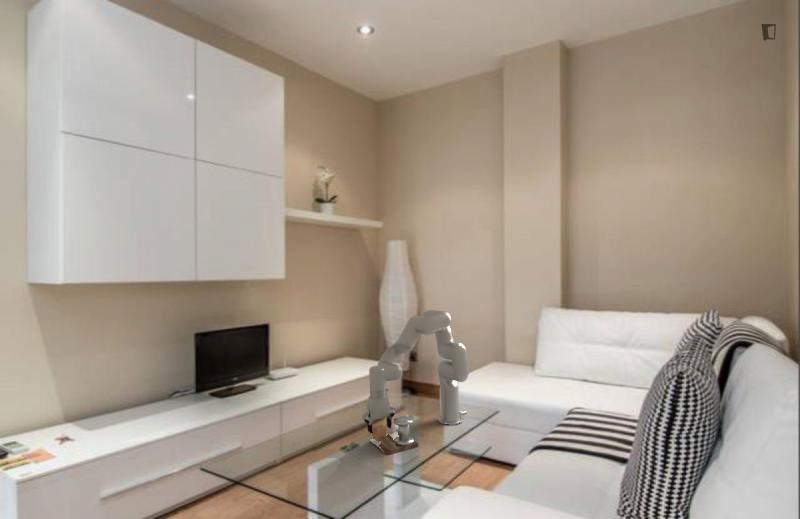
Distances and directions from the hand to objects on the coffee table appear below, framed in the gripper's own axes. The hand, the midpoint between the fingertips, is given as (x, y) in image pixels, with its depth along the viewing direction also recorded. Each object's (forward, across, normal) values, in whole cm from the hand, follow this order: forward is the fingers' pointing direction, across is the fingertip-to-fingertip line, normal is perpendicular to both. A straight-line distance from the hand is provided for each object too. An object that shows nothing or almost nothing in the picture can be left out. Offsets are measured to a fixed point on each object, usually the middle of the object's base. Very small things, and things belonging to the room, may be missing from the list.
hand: (379, 430), depth 207 cm
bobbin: (+5, -8, +8) cm, 12 cm away
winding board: (+6, -5, +4) cm, 9 cm away
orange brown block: (+5, 0, 0) cm, 5 cm away
